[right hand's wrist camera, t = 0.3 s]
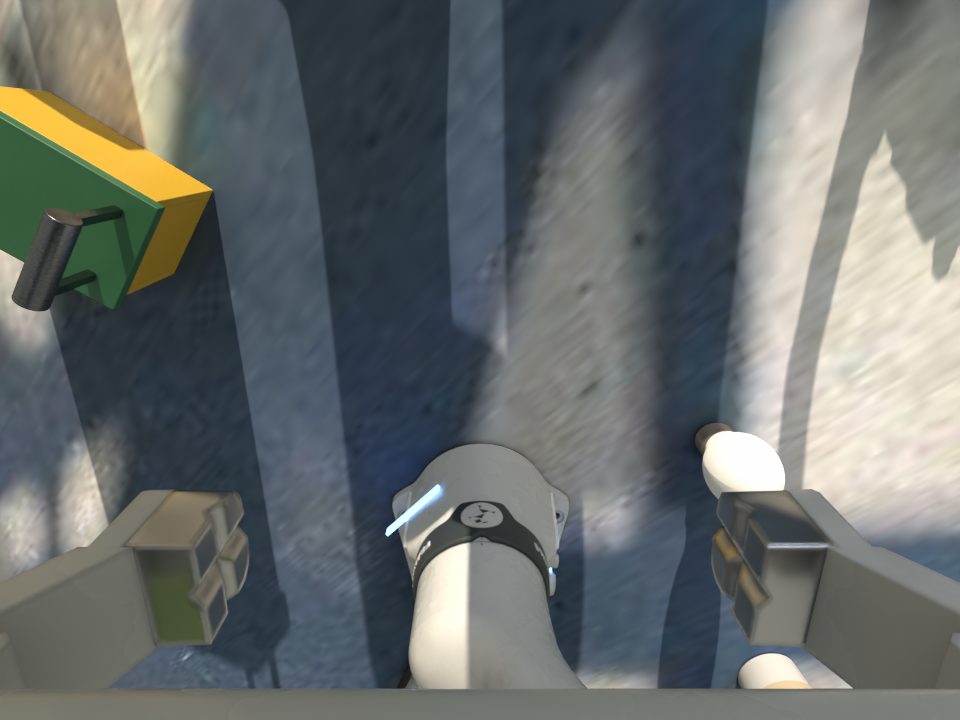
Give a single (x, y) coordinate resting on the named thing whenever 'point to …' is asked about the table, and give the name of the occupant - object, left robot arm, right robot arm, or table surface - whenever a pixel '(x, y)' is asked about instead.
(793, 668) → the coffee cup
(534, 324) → the table surface
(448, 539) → the right robot arm
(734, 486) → the light bulb
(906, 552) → the table surface
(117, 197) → the lid
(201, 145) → the table surface
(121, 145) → the chest
